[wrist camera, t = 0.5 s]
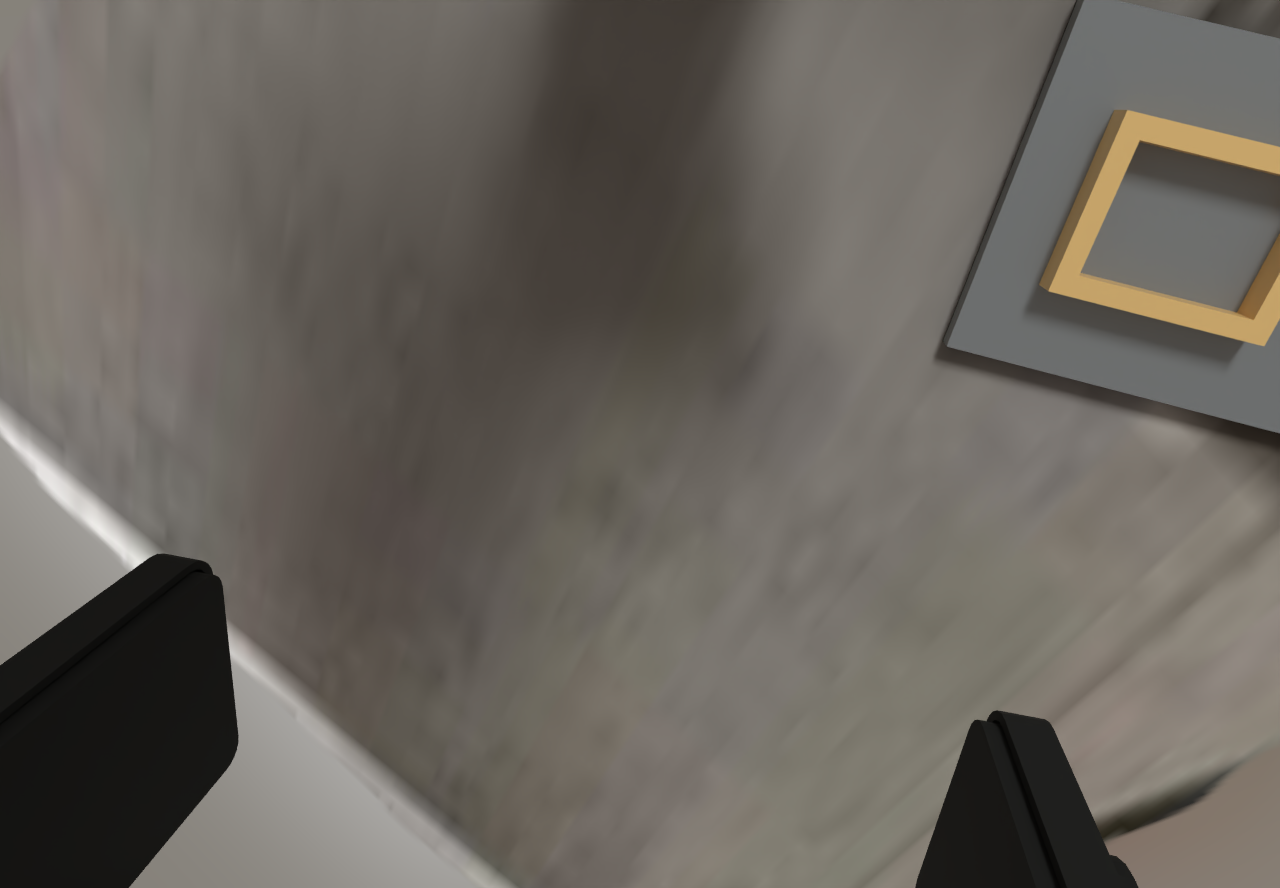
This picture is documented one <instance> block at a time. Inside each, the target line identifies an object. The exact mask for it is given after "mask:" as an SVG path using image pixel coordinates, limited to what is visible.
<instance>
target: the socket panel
mask: <svg viewBox="0 0 1280 888" xmlns="http://www.w3.org/2000/svg"><path fill="white" fill-rule="evenodd" d="M943 342H944V343H945V345H946V346H947V347H950V348H954V349H958V350H962V351H966V352H970V353H973V354H977V355H981V356H985V357H989V358H993V359H996V360H1000V361H1004V362H1008V363H1012V364H1016V365H1020V366H1023V367H1027V368H1031V369H1035V370H1039V371H1043V372H1046V373H1050V374H1054V375H1058V376H1062V377H1066V378H1069V379H1073V380H1077V381H1081V382H1085V383H1089V384H1092V385H1096V386H1100V387H1104V388H1108V389H1112V390H1115V391H1119V392H1123V393H1127V394H1131V395H1135V396H1138V397H1142V398H1146V399H1150V400H1154V401H1158V402H1161V403H1165V404H1169V405H1173V406H1177V407H1181V408H1184V409H1188V410H1192V411H1196V412H1200V413H1204V414H1207V415H1211V416H1215V417H1219V418H1223V419H1227V420H1230V421H1234V422H1238V423H1242V424H1246V425H1250V426H1253V427H1257V428H1261V429H1265V430H1269V431H1273V432H1276V433H1280V39H1279V38H1274V37H1270V36H1266V35H1262V34H1257V33H1253V32H1249V31H1245V30H1241V29H1236V28H1232V27H1228V26H1224V25H1219V24H1215V23H1211V22H1207V21H1202V20H1198V19H1194V18H1190V17H1185V16H1181V15H1177V14H1173V13H1169V12H1164V11H1160V10H1156V9H1152V8H1147V7H1143V6H1139V5H1135V4H1130V3H1126V2H1122V1H1118V0H1077V2H1076V5H1075V7H1074V10H1073V12H1072V15H1071V17H1070V20H1069V23H1068V25H1067V28H1066V30H1065V33H1064V35H1063V38H1062V40H1061V43H1060V45H1059V48H1058V50H1057V53H1056V56H1055V58H1054V61H1053V63H1052V66H1051V68H1050V71H1049V73H1048V76H1047V78H1046V81H1045V83H1044V86H1043V89H1042V91H1041V94H1040V96H1039V99H1038V101H1037V104H1036V106H1035V109H1034V111H1033V114H1032V116H1031V119H1030V122H1029V124H1028V127H1027V129H1026V132H1025V134H1024V137H1023V139H1022V142H1021V144H1020V147H1019V150H1018V152H1017V155H1016V157H1015V160H1014V162H1013V165H1012V167H1011V170H1010V172H1009V175H1008V177H1007V180H1006V183H1005V185H1004V188H1003V190H1002V193H1001V195H1000V198H999V200H998V203H997V205H996V208H995V210H994V213H993V216H992V218H991V221H990V223H989V226H988V228H987V231H986V233H985V236H984V238H983V241H982V243H981V246H980V249H979V251H978V254H977V256H976V259H975V261H974V264H973V266H972V269H971V271H970V274H969V276H968V279H967V282H966V284H965V287H964V289H963V292H962V294H961V297H960V299H959V302H958V304H957V307H956V309H955V312H954V315H953V317H952V320H951V322H950V325H949V327H948V330H947V332H946V335H945V337H944V340H943Z"/></svg>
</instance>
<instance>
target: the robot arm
mask: <svg viewBox="0 0 1280 888" xmlns="http://www.w3.org/2000/svg"><path fill="white" fill-rule="evenodd" d="M237 746H238V728H237V718H236V709H235V699H234V690H233V680H232V671H231V661H230V652H229V642H228V633H227V623H226V614H225V604H224V595H223V586H222V582H221V580H220V578H219V577H218V576H216V575H213V572H212V569H211V567H210V566H209V564H208V563H206V562H204V561H201V560H195V559H190V558H185V557H179V556H174V555H169V554H156V555H154V556H152V557H150V558H149V559H147V560H146V561H144V562H143V563H142V564H140V565H139V566H137V567H136V568H135V569H133V570H132V571H131V572H129V573H128V574H126V575H125V576H124V577H122V578H121V579H119V580H118V581H117V582H115V583H114V584H113V585H111V586H110V587H108V588H107V589H106V590H104V591H103V592H101V593H100V594H99V595H97V596H96V597H94V598H93V599H92V600H90V601H89V602H88V603H86V604H85V605H83V606H82V607H81V608H79V609H78V610H76V611H75V612H74V613H73V614H71V615H70V616H68V617H67V618H65V619H64V620H63V621H61V622H60V623H58V624H57V625H56V626H54V627H53V628H52V629H50V630H49V631H47V632H46V633H45V634H43V635H42V636H40V637H39V638H38V639H36V640H35V641H33V642H32V643H31V644H29V645H28V646H27V647H25V648H24V649H22V650H21V651H20V652H18V653H17V654H15V655H14V656H13V657H11V658H10V659H8V660H7V661H6V662H4V663H3V664H2V665H0V888H129V887H130V886H131V884H132V883H133V882H134V881H135V880H136V878H137V877H138V876H139V875H140V873H141V872H142V871H143V870H144V869H145V867H146V866H147V865H148V864H149V863H150V861H151V860H152V859H153V858H154V857H155V855H156V854H157V853H158V852H159V851H160V849H161V848H162V847H163V846H164V845H165V843H166V842H167V841H168V840H169V838H170V837H171V836H172V835H173V834H174V832H175V831H176V830H177V829H178V827H179V826H180V825H181V824H182V823H183V822H184V820H185V819H186V818H187V817H188V816H189V814H190V813H191V812H192V811H193V809H194V808H195V807H196V806H197V805H198V804H199V802H200V801H201V800H202V799H203V797H204V796H205V795H206V794H207V793H208V791H209V790H210V789H211V788H212V787H213V785H214V784H215V783H216V782H217V780H218V779H219V778H220V777H221V776H222V774H223V773H224V772H225V771H226V770H227V768H228V767H229V765H230V764H231V762H232V760H233V758H234V756H235V753H236V750H237ZM916 888H1138V886H1137V883H1136V881H1135V879H1134V877H1133V876H1132V874H1131V872H1130V871H1129V869H1128V867H1127V866H1126V864H1125V863H1123V862H1122V861H1121V860H1120V859H1119V858H1118V857H1117V856H1112V855H1109V853H1108V850H1107V848H1106V846H1105V844H1104V841H1103V839H1102V837H1101V835H1100V832H1099V830H1098V828H1097V826H1096V823H1095V821H1094V819H1093V817H1092V814H1091V812H1090V810H1089V808H1088V805H1087V803H1086V801H1085V799H1084V796H1083V794H1082V792H1081V790H1080V787H1079V785H1078V783H1077V781H1076V778H1075V776H1074V774H1073V771H1072V769H1071V767H1070V765H1069V762H1068V760H1067V758H1066V756H1065V753H1064V751H1063V749H1062V747H1061V744H1060V742H1059V740H1058V738H1057V735H1056V733H1055V731H1054V729H1053V727H1052V726H1051V724H1050V722H1048V721H1047V720H1045V719H1040V718H1035V717H1030V716H1024V715H1019V714H1014V713H1008V712H1003V711H998V710H997V711H993V712H992V713H991V714H990V715H989V717H988V719H987V721H982V720H974V722H973V723H972V724H971V726H970V729H969V731H968V734H967V737H966V740H965V743H964V746H963V749H962V751H961V754H960V757H959V760H958V763H957V766H956V769H955V772H954V775H953V777H952V780H951V783H950V786H949V789H948V792H947V795H946V798H945V801H944V803H943V806H942V809H941V812H940V815H939V818H938V821H937V824H936V827H935V830H934V832H933V835H932V838H931V841H930V844H929V847H928V850H927V853H926V856H925V858H924V861H923V864H922V867H921V870H920V873H919V876H918V879H917V883H916Z"/></svg>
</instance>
